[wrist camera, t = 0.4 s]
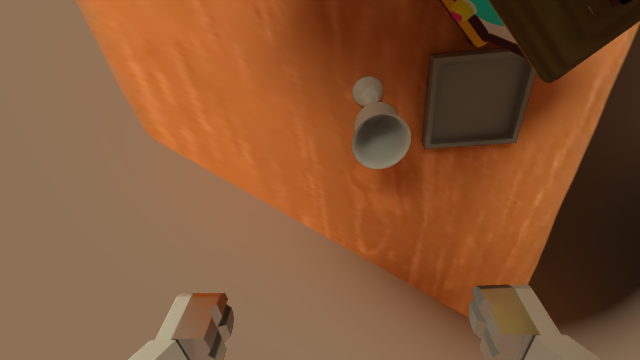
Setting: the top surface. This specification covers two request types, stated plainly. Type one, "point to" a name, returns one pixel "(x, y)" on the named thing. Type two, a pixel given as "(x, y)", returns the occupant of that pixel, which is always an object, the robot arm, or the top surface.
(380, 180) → the top surface
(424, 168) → the top surface
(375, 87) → the chalice
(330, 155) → the top surface
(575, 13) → the decorative lantern
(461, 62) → the tray
